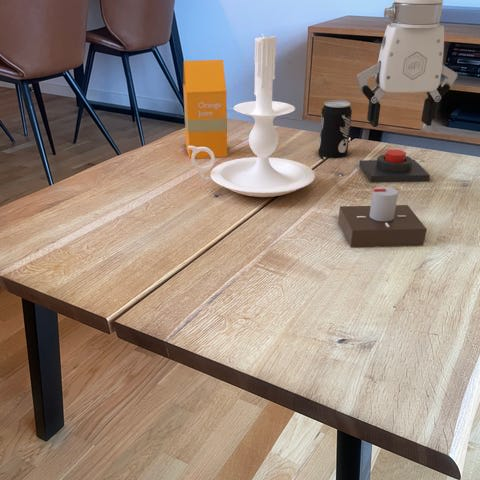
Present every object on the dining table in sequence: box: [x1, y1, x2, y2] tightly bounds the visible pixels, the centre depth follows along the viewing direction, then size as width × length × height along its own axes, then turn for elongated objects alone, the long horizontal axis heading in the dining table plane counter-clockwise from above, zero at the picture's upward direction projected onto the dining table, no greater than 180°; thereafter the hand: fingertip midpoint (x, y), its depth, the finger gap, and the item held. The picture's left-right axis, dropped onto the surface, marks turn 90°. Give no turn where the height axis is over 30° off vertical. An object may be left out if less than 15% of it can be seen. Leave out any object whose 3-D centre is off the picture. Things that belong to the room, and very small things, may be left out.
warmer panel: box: [337, 204, 427, 248], centre depth 93 cm, size 12×10×3 cm
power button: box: [385, 149, 407, 163], centre depth 114 cm, size 4×4×2 cm
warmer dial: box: [369, 186, 399, 222], centre depth 91 cm, size 4×4×5 cm
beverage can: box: [318, 99, 353, 161], centre depth 124 cm, size 7×7×12 cm
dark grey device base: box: [358, 153, 431, 183], centre depth 116 cm, size 12×10×4 cm
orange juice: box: [182, 59, 228, 160], centre depth 125 cm, size 8×9×20 cm
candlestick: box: [188, 33, 316, 198], centre depth 103 cm, size 21×25×28 cm
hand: (399, 124), depth 99 cm, fingers open, 9 cm apart
